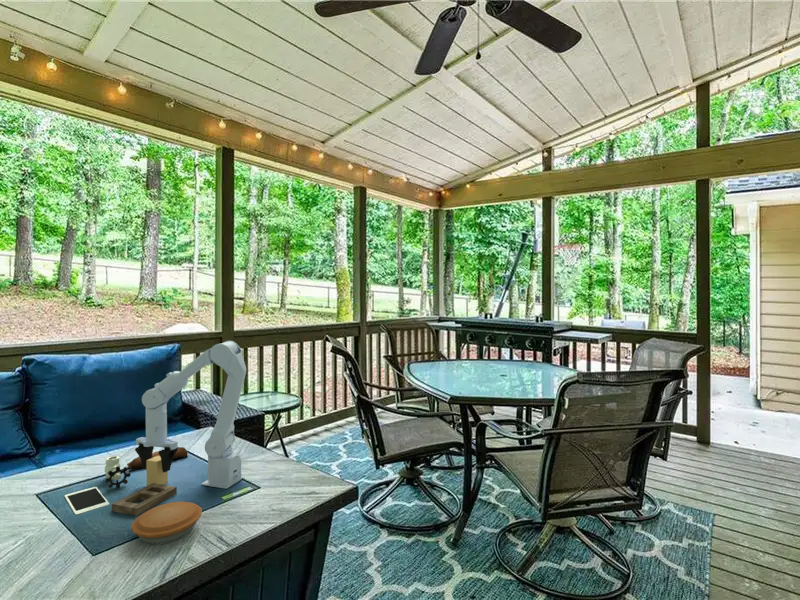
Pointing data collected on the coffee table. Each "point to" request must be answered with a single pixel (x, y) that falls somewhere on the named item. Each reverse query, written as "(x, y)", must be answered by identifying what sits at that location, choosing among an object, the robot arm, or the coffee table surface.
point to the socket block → (150, 494)
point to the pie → (166, 522)
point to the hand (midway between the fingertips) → (156, 469)
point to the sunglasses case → (137, 462)
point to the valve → (115, 472)
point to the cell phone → (86, 500)
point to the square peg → (156, 471)
